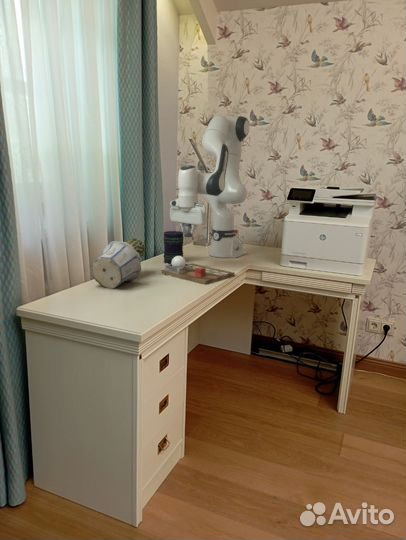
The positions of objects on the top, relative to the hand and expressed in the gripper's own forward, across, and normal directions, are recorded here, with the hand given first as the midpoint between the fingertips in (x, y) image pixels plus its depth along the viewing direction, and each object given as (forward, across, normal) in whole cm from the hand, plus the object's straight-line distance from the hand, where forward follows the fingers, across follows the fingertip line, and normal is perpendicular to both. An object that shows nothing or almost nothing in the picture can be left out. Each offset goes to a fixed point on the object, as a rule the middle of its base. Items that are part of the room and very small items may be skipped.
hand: (188, 233), depth 196 cm
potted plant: (+17, +5, +34) cm, 38 cm away
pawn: (+2, 0, 0) cm, 2 cm away
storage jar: (+18, +16, -6) cm, 24 cm away
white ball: (+15, -3, +10) cm, 18 cm away
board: (+17, -10, +5) cm, 20 cm away
